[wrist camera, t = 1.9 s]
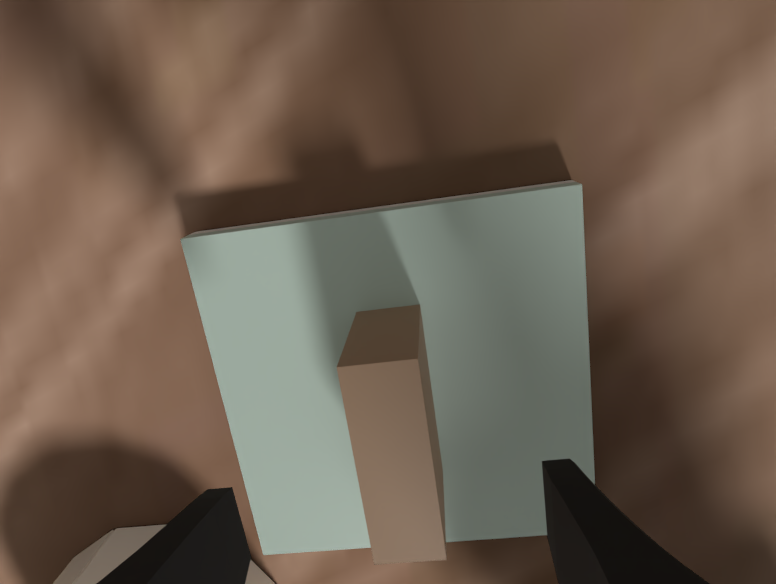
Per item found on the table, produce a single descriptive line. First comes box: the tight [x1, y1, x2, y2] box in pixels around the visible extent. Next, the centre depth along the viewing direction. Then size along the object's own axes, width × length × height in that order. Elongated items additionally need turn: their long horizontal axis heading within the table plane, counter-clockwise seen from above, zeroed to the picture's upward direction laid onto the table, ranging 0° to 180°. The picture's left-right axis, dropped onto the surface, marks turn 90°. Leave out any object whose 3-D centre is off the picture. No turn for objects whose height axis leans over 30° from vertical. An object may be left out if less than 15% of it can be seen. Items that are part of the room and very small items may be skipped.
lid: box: [181, 182, 595, 565], centre depth 16 cm, size 12×12×5 cm
